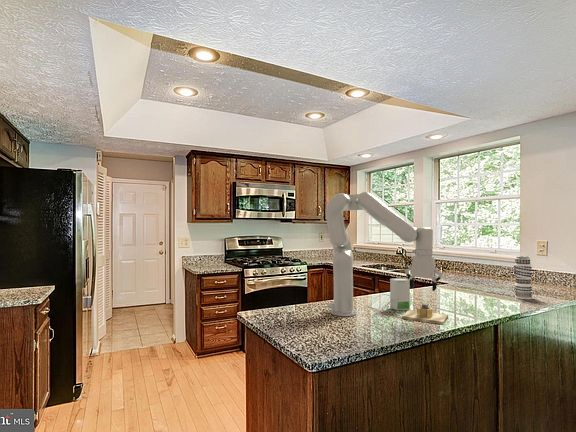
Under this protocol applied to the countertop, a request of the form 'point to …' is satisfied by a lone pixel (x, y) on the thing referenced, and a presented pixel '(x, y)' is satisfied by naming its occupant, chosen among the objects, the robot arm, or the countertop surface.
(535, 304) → the countertop surface
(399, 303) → the skincare box
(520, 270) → the decorative candle
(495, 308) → the countertop surface
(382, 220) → the robot arm
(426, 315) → the ring
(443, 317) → the beige flat block
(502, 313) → the countertop surface
